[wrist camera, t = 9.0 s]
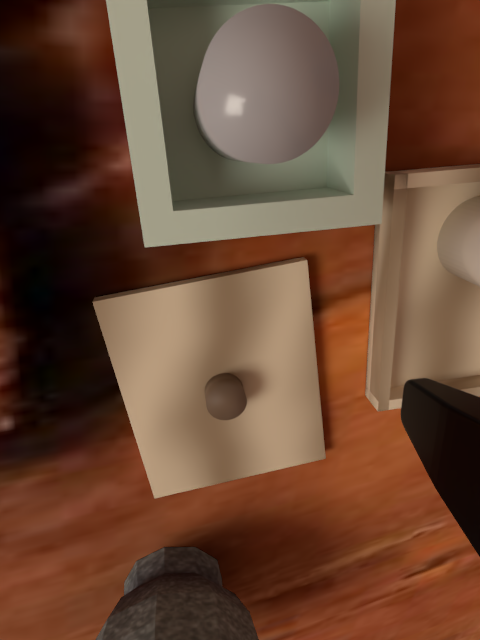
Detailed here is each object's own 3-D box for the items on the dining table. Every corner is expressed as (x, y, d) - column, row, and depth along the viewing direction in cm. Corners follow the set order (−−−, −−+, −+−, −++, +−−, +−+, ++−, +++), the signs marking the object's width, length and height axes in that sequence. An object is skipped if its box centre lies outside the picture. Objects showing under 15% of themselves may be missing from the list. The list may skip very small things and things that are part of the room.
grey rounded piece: (295, 55, 17) (347, 10, 12) (287, 163, 18) (330, 166, 13) (193, 46, 16) (200, -4, 11) (193, 159, 18) (199, 161, 12)
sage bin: (355, -34, 16) (400, -77, 13) (347, 210, 20) (381, 223, 17) (110, -28, 15) (94, -72, 12) (148, 229, 19) (144, 247, 16)
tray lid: (303, 256, 21) (315, 266, 19) (322, 451, 25) (332, 473, 24) (94, 297, 20) (87, 311, 18) (154, 490, 25) (153, 515, 23)
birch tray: (575, 155, 21) (605, 156, 19) (526, 371, 25) (547, 385, 24) (378, 172, 20) (395, 174, 18) (365, 395, 24) (377, 411, 23)
